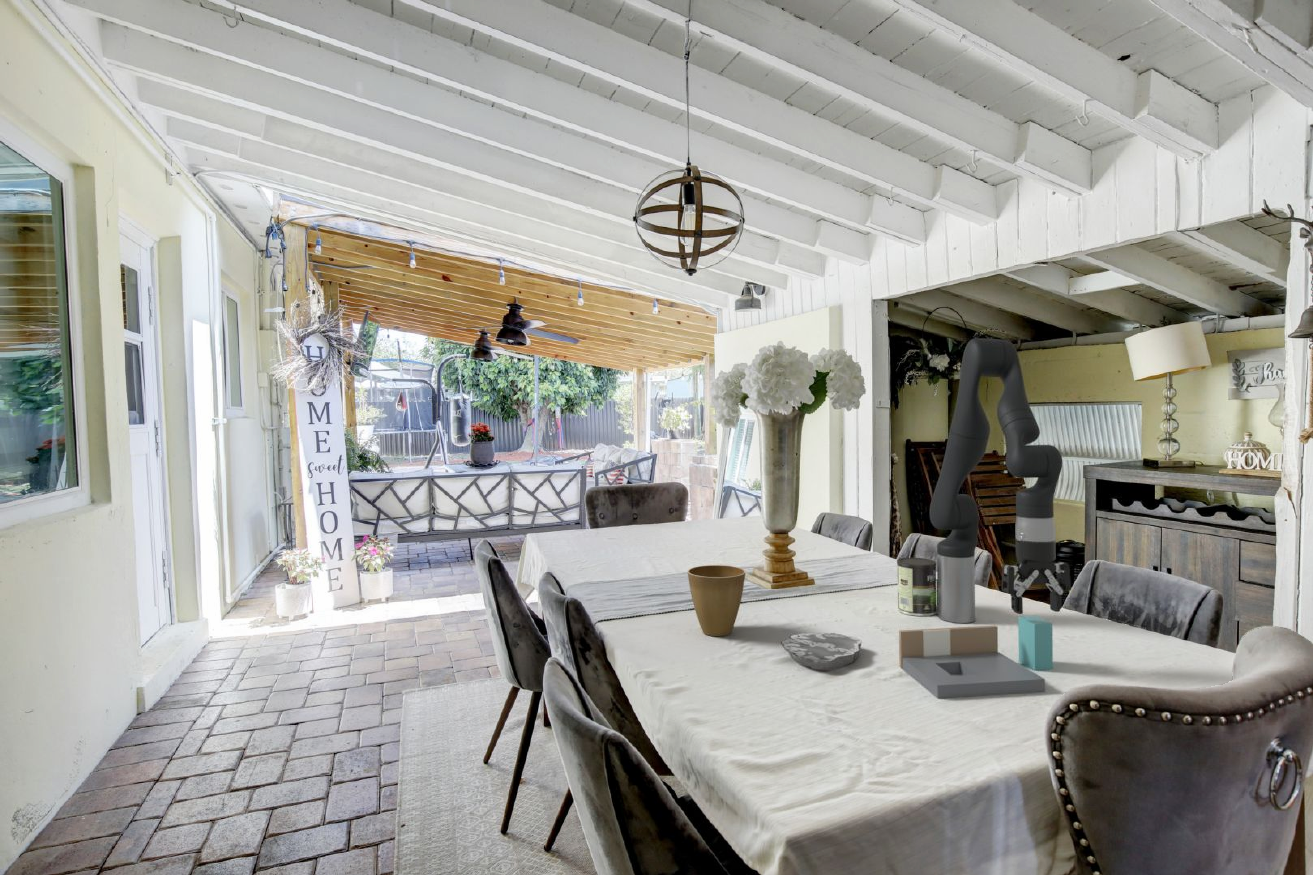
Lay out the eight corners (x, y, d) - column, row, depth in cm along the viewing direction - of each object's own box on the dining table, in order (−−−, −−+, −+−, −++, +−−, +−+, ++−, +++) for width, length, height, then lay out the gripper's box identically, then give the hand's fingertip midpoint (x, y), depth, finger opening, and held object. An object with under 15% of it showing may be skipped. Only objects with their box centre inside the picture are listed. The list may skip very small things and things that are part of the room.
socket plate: (899, 666, 146) (898, 630, 145) (995, 661, 147) (994, 625, 147) (937, 698, 129) (937, 657, 129) (1044, 691, 131) (1044, 651, 131)
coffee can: (941, 609, 187) (940, 559, 186) (931, 618, 179) (930, 566, 178) (903, 603, 193) (903, 555, 193) (892, 612, 185) (891, 562, 184)
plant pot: (744, 642, 163) (743, 578, 163) (684, 640, 166) (683, 576, 166) (748, 624, 178) (747, 564, 177) (693, 621, 181) (692, 563, 180)
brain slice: (805, 639, 166) (805, 627, 166) (872, 653, 155) (872, 640, 155) (765, 662, 151) (765, 649, 151) (836, 680, 140) (836, 666, 140)
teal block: (1018, 661, 147) (1018, 616, 147) (1035, 660, 147) (1035, 615, 147) (1034, 670, 142) (1034, 624, 141) (1052, 669, 142) (1052, 623, 142)
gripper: (1054, 533, 148) (1055, 605, 148) (993, 535, 147) (994, 609, 147) (1078, 538, 141) (1079, 615, 141) (1014, 541, 139) (1016, 618, 140)
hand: (1036, 611), depth 144 cm, fingers open, 8 cm apart
